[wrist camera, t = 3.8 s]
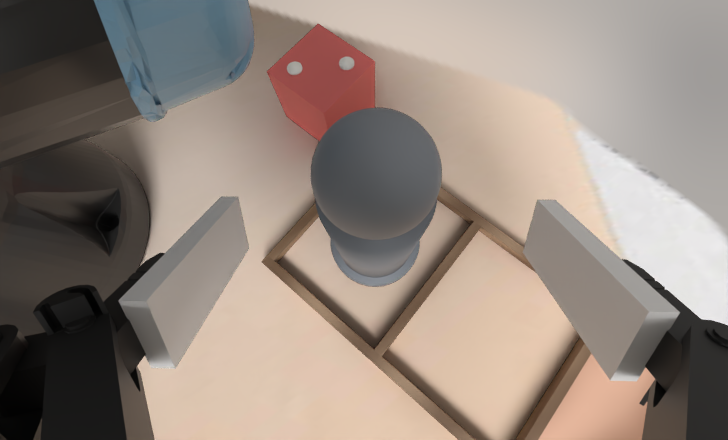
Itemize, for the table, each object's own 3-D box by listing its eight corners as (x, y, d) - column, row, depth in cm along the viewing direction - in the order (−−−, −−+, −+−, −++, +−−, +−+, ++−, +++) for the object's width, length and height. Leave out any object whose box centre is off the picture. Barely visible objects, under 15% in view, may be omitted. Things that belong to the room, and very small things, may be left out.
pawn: (315, 249, 23) (230, 157, 9) (369, 187, 24) (363, 27, 11) (381, 305, 22) (393, 292, 8) (434, 237, 23) (522, 129, 9)
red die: (286, 116, 26) (266, 70, 21) (328, 75, 27) (317, 22, 22) (333, 151, 25) (323, 112, 20) (374, 107, 26) (374, 60, 21)
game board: (265, 263, 23) (261, 261, 22) (374, 143, 25) (374, 138, 24) (656, 616, 17) (669, 630, 16) (751, 419, 19) (766, 423, 19)
